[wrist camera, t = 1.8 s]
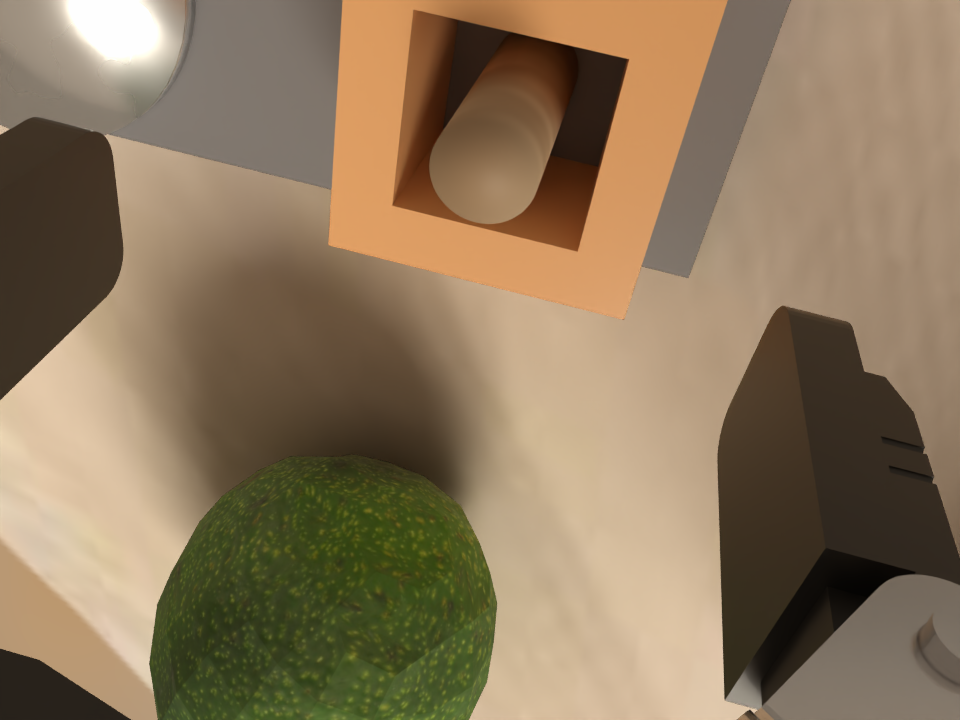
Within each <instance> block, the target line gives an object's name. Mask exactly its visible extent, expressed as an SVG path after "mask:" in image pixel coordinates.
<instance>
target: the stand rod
mask: <svg viewBox="0 0 960 720" xmlns="http://www.w3.org/2000/svg"><path fill="white" fill-rule="evenodd" d="M577 77H578V60H577V56H576V53H575V50H574V48H573V47H572V46H570V45H565V44H561V43H557V42H552V41H548V40H544V39H539V38H535V37H531V36H526V35H522V34H518V33H513V32H511V33H510V34H509V35H508V36H507V37H506V38H505V39H504V40H503V41H502V43H501V44H500V46H499V47H498V49H497V50H496V52H495V53H494V55H493V56H492V58H491V59H490V61H489V62H488V64H487V65H486V67H485V68H484V70H483V71H482V73H481V74H480V76H479V77H478V79H477V80H476V82H475V83H474V85H473V86H472V88H471V90H470V91H469V93H468V94H467V96H466V97H465V99H464V100H463V102H462V103H461V105H460V106H459V108H458V109H457V111H456V112H455V114H454V115H453V117H452V118H451V120H450V121H449V123H448V124H447V126H446V127H445V129H444V130H443V132H442V133H441V135H440V136H439V138H438V139H437V141H436V143H435V145H434V147H433V149H432V152H431V156H430V163H429V170H430V177H431V181H432V184H433V187H434V189H435V191H436V193H437V195H438V196H439V198H440V199H441V201H442V202H443V203H444V204H445V205H446V206H447V207H448V208H449V209H450V210H451V211H453V212H454V213H455V214H457V215H459V216H460V217H462V218H464V219H467V220H469V221H472V222H476V223H482V224H496V223H502V222H505V221H508V220H511V219H513V218H515V217H516V216H518V215H519V214H521V213H522V212H523V211H524V210H525V209H526V208H527V207H528V206H529V205H530V203H531V202H532V200H533V199H534V196H535V194H536V192H537V189H538V186H539V184H540V181H541V178H542V175H543V173H544V170H545V167H546V164H547V162H548V159H549V156H550V153H551V151H552V148H553V145H554V142H555V140H556V137H557V134H558V131H559V129H560V126H561V123H562V120H563V117H564V115H565V112H566V109H567V106H568V104H569V101H570V98H571V95H572V93H573V90H574V87H575V84H576V81H577Z"/></svg>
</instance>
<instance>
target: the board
mask: <svg viewBox="0 0 960 720" xmlns="http://www.w3.org/2000/svg"><path fill="white" fill-rule="evenodd" d="M790 1H791V0H728V1H727V4H726V7H725V10H724V14H723V17H722V20H721V23H720V26H719V29H718V32H717V35H716V38H715V41H714V44H713V47H712V50H711V54H710V57H709V60H708V63H707V66H706V69H705V72H704V75H703V78H702V81H701V84H700V87H699V90H698V94H697V97H696V100H695V103H694V106H693V109H692V112H691V115H690V118H689V121H688V124H687V127H686V130H685V134H684V137H683V140H682V143H681V146H680V149H679V152H678V155H677V158H676V161H675V164H674V167H673V171H672V174H671V177H670V180H669V183H668V186H667V189H666V192H665V195H664V198H663V201H662V204H661V207H660V211H659V214H658V217H657V220H656V223H655V226H654V229H653V232H652V235H651V238H650V241H649V244H648V247H647V251H646V254H645V257H644V260H643V263H642V267H646V268H650V269H654V270H658V271H662V272H666V273H670V274H674V275H678V276H682V277H686V278H689V275H690V273H691V270H692V267H693V264H694V262H695V259H696V256H697V254H698V251H699V248H700V245H701V243H702V240H703V237H704V235H705V232H706V229H707V226H708V224H709V221H710V218H711V216H712V213H713V210H714V207H715V205H716V202H717V199H718V197H719V194H720V191H721V188H722V186H723V183H724V180H725V178H726V175H727V172H728V169H729V167H730V164H731V161H732V159H733V156H734V153H735V150H736V148H737V145H738V142H739V140H740V137H741V134H742V131H743V129H744V126H745V123H746V121H747V118H748V115H749V112H750V110H751V107H752V104H753V102H754V99H755V96H756V93H757V91H758V88H759V85H760V83H761V80H762V77H763V74H764V72H765V69H766V66H767V64H768V61H769V58H770V55H771V53H772V50H773V47H774V45H775V42H776V39H777V36H778V34H779V31H780V28H781V26H782V23H783V20H784V17H785V15H786V12H787V9H788V7H789V4H790ZM342 2H343V0H196V15H195V22H194V29H193V36H192V40H191V43H190V47H189V50H188V54H187V57H186V60H185V62H184V64H183V66H182V68H181V71H180V73H179V75H178V77H177V79H176V80H175V82H174V83H173V85H172V86H171V88H170V89H169V90H168V92H167V93H166V95H165V96H164V97H163V98H162V99H161V100H160V101H159V102H158V103H157V104H156V105H155V106H154V107H153V108H152V109H150V110H149V111H147V112H146V113H144V114H143V115H142V116H140V117H139V118H137V119H136V120H134V121H133V122H131V123H130V124H128V125H127V126H125V127H123V128H120V129H118V130H116V131H114V132H112V133H110V134H109V135H113V136H117V137H121V138H125V139H129V140H133V141H137V142H141V143H145V144H149V145H153V146H157V147H162V148H166V149H170V150H174V151H178V152H182V153H186V154H190V155H194V156H198V157H202V158H206V159H210V160H214V161H218V162H222V163H226V164H230V165H234V166H238V167H242V168H246V169H250V170H254V171H258V172H262V173H266V174H270V175H274V176H279V177H283V178H287V179H291V180H295V181H299V182H303V183H307V184H311V185H315V186H319V187H323V188H327V189H331V190H332V174H333V156H334V139H335V122H336V105H337V88H338V70H339V53H340V36H341V19H342ZM510 33H511V32H509V31H505V30H500V29H496V28H492V27H487V26H483V25H479V24H475V23H470V22H466V21H462V20H458V25H457V32H456V39H455V46H454V54H453V61H452V68H451V75H450V82H449V89H448V96H447V104H446V111H445V118H444V125H443V130H444V129H445V127H446V126H447V124H448V123H449V121H450V120H451V118H452V117H453V115H454V114H455V112H456V111H457V109H458V108H459V106H460V105H461V103H462V102H463V100H464V99H465V97H466V96H467V94H468V93H469V91H470V90H471V88H472V86H473V85H474V83H475V82H476V80H477V79H478V77H479V76H480V74H481V73H482V71H483V70H484V68H485V67H486V65H487V64H488V62H489V61H490V59H491V58H492V56H493V55H494V53H495V52H496V50H497V49H498V47H499V46H500V44H501V43H502V41H503V40H504V39H505V38H506V37H507V36H508V35H509V34H510ZM572 47H573V48H574V50H575V53H576V56H577V60H578V77H577V81H576V84H575V87H574V90H573V93H572V95H571V98H570V101H569V104H568V106H567V109H566V112H565V115H564V117H563V120H562V123H561V126H560V129H559V131H558V134H557V137H556V140H555V142H554V145H553V148H552V151H551V153H550V155H551V156H556V157H560V158H564V159H568V160H572V161H576V162H580V163H585V164H589V165H593V166H597V167H598V165H599V161H600V158H601V154H602V150H603V146H604V143H605V139H606V135H607V131H608V128H609V124H610V120H611V116H612V113H613V109H614V105H615V101H616V98H617V94H618V90H619V86H620V82H621V79H622V75H623V71H624V67H625V64H626V60H627V59H626V58H622V57H617V56H613V55H609V54H604V53H600V52H596V51H591V50H587V49H583V48H578V47H574V46H572Z"/></svg>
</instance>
